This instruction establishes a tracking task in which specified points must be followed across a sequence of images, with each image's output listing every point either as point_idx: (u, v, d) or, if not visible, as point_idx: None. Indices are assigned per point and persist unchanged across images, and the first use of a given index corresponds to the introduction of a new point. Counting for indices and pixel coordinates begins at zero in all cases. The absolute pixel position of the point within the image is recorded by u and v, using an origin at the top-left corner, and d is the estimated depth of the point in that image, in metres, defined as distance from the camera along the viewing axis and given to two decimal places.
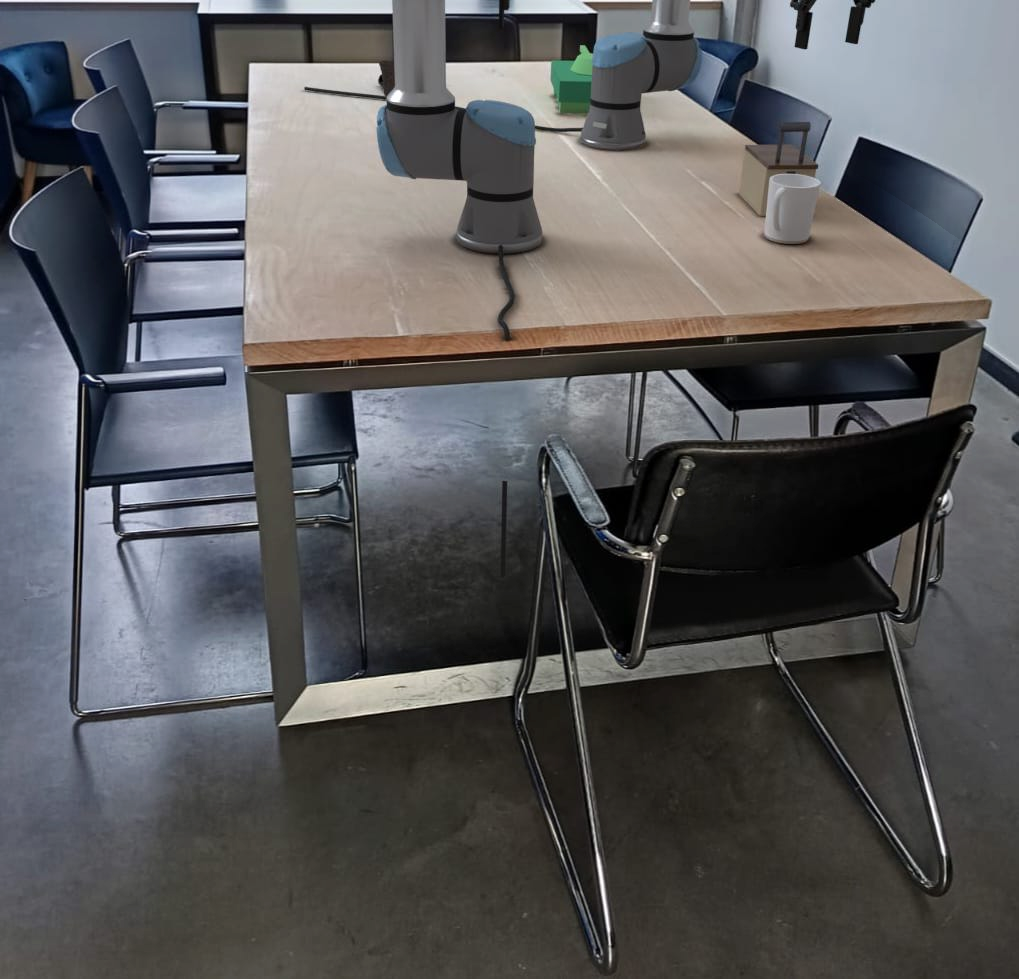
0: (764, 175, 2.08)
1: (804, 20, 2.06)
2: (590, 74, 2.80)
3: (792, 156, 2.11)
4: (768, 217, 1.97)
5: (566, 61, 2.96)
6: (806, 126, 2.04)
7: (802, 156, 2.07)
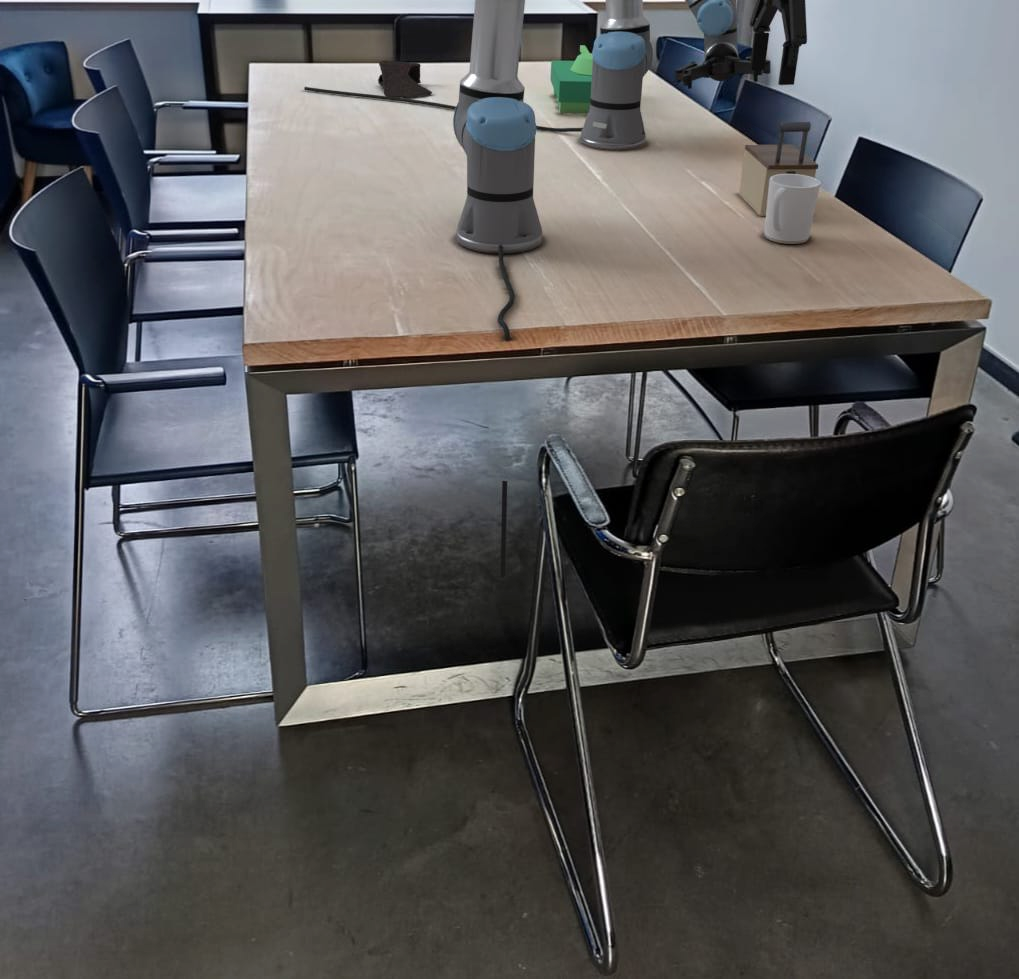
0: (764, 175, 2.08)
1: None
2: (590, 74, 2.80)
3: (792, 156, 2.11)
4: (768, 217, 1.97)
5: (566, 61, 2.96)
6: (806, 126, 2.04)
7: (802, 156, 2.07)
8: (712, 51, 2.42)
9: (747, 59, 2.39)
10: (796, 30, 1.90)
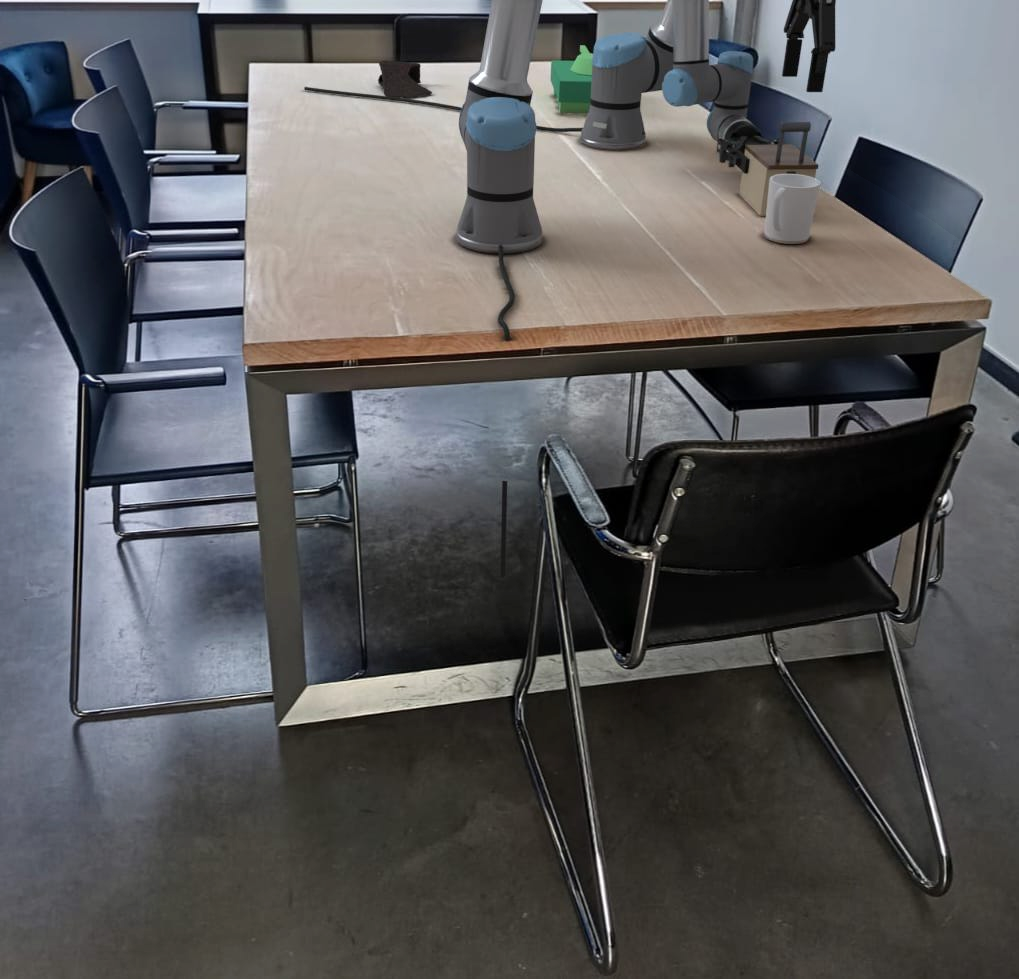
0: (764, 175, 2.08)
1: None
2: (590, 74, 2.80)
3: (792, 156, 2.11)
4: (768, 217, 1.97)
5: (566, 61, 2.96)
6: (806, 126, 2.04)
7: (802, 156, 2.07)
8: (738, 129, 2.31)
9: (775, 142, 2.30)
10: (824, 37, 1.88)
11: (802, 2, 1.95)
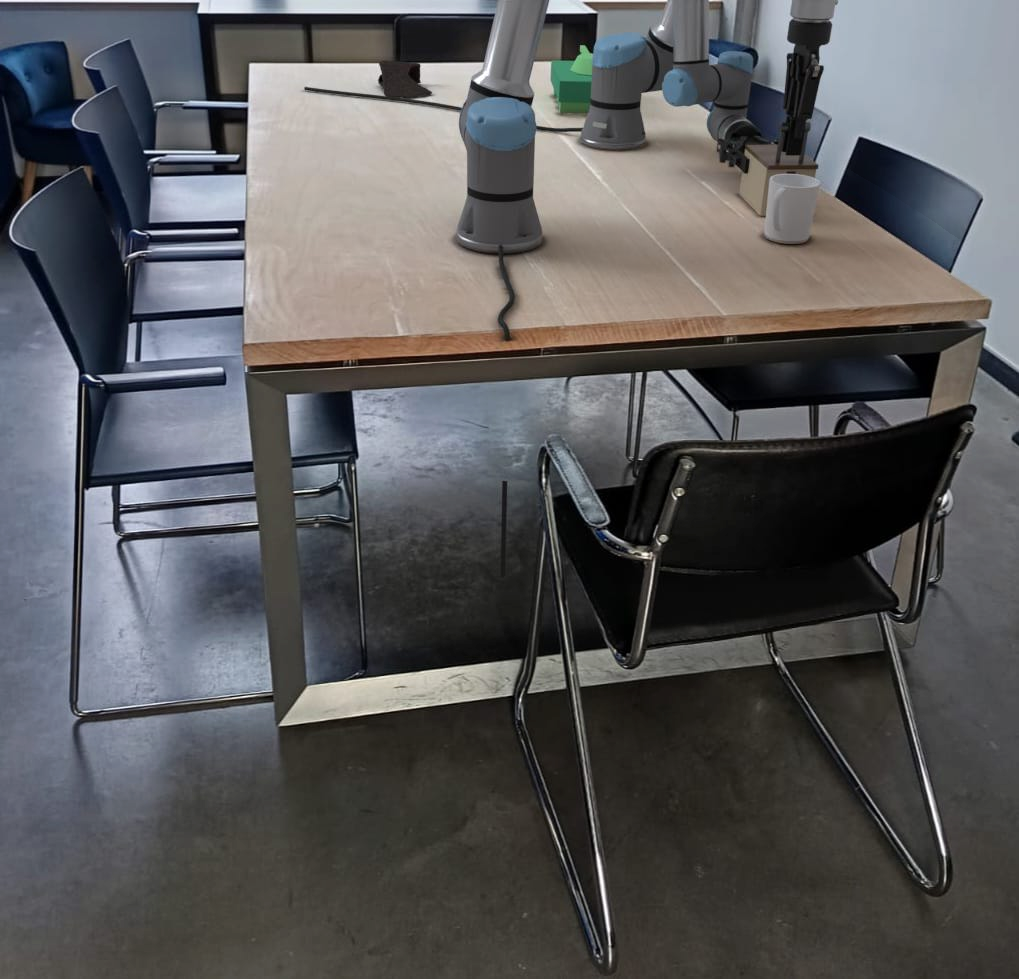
0: (764, 175, 2.08)
1: None
2: (590, 74, 2.80)
3: (792, 156, 2.11)
4: (768, 217, 1.97)
5: (566, 61, 2.96)
6: (806, 126, 2.04)
7: (802, 156, 2.07)
8: (738, 129, 2.31)
9: (775, 142, 2.30)
10: (803, 108, 1.98)
11: (795, 63, 1.99)
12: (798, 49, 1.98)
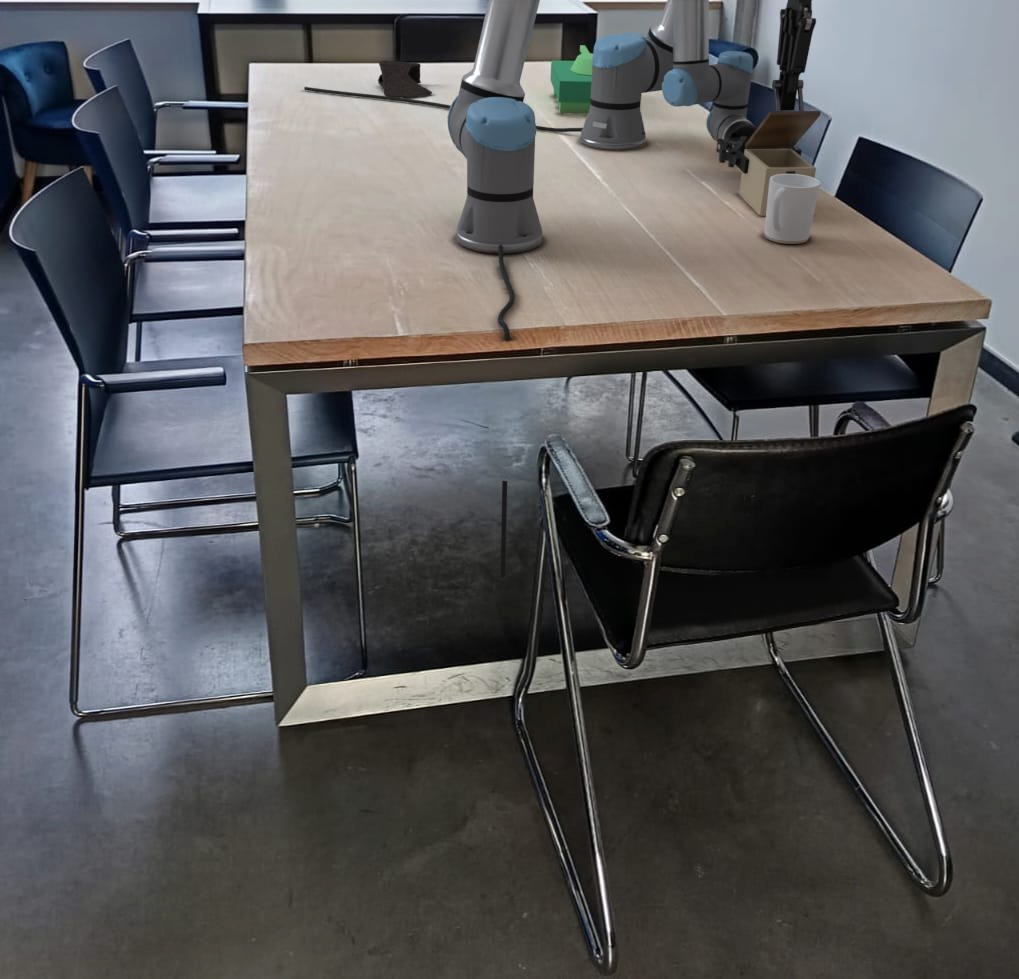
0: (764, 175, 2.08)
1: None
2: (590, 74, 2.80)
3: None
4: (768, 217, 1.97)
5: (566, 61, 2.96)
6: (799, 81, 2.07)
7: (802, 111, 2.06)
8: (738, 129, 2.31)
9: None
10: (796, 61, 2.01)
11: (788, 18, 2.02)
12: (791, 4, 2.01)
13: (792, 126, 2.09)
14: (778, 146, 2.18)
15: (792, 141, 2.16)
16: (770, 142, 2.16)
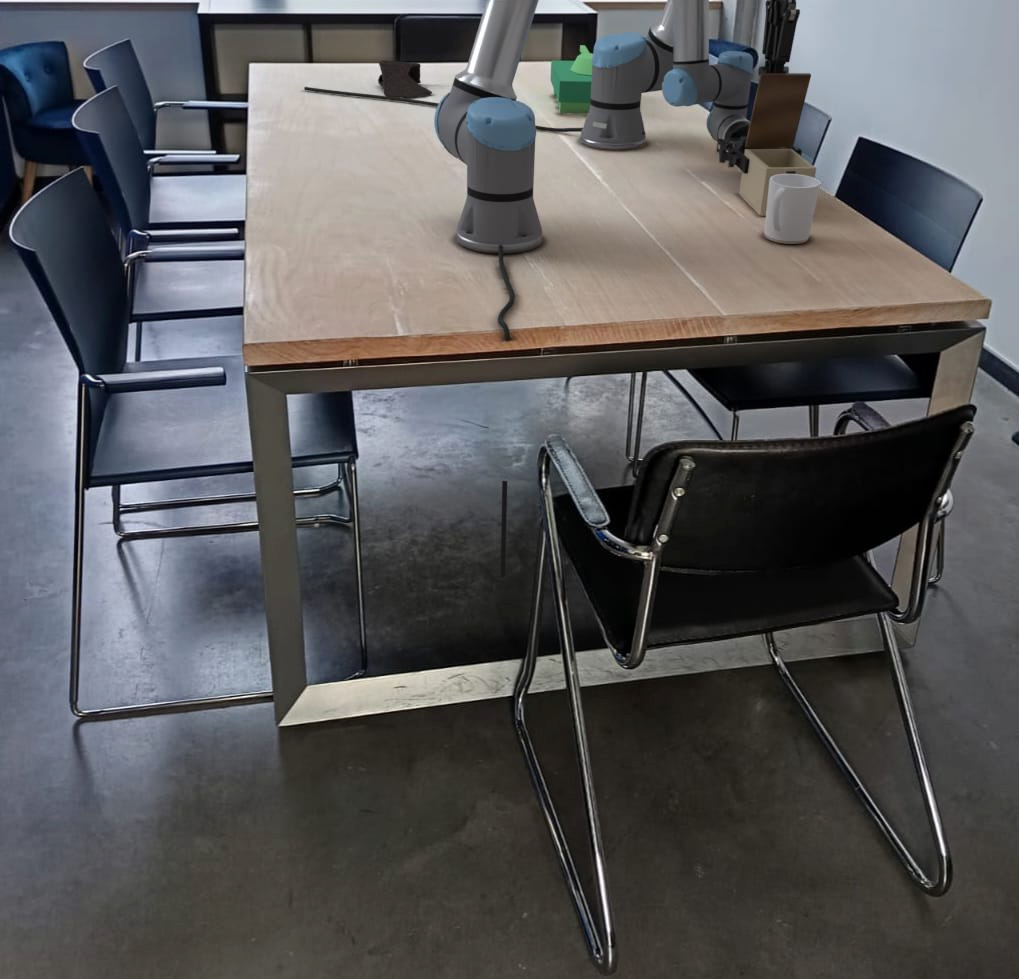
0: (764, 175, 2.08)
1: None
2: (590, 74, 2.80)
3: None
4: (768, 217, 1.97)
5: (566, 61, 2.96)
6: (784, 66, 2.14)
7: None
8: (738, 129, 2.31)
9: None
10: (781, 51, 2.08)
11: (773, 9, 2.09)
12: None
13: (786, 99, 2.11)
14: (778, 143, 2.18)
15: (790, 131, 2.16)
16: (769, 133, 2.16)
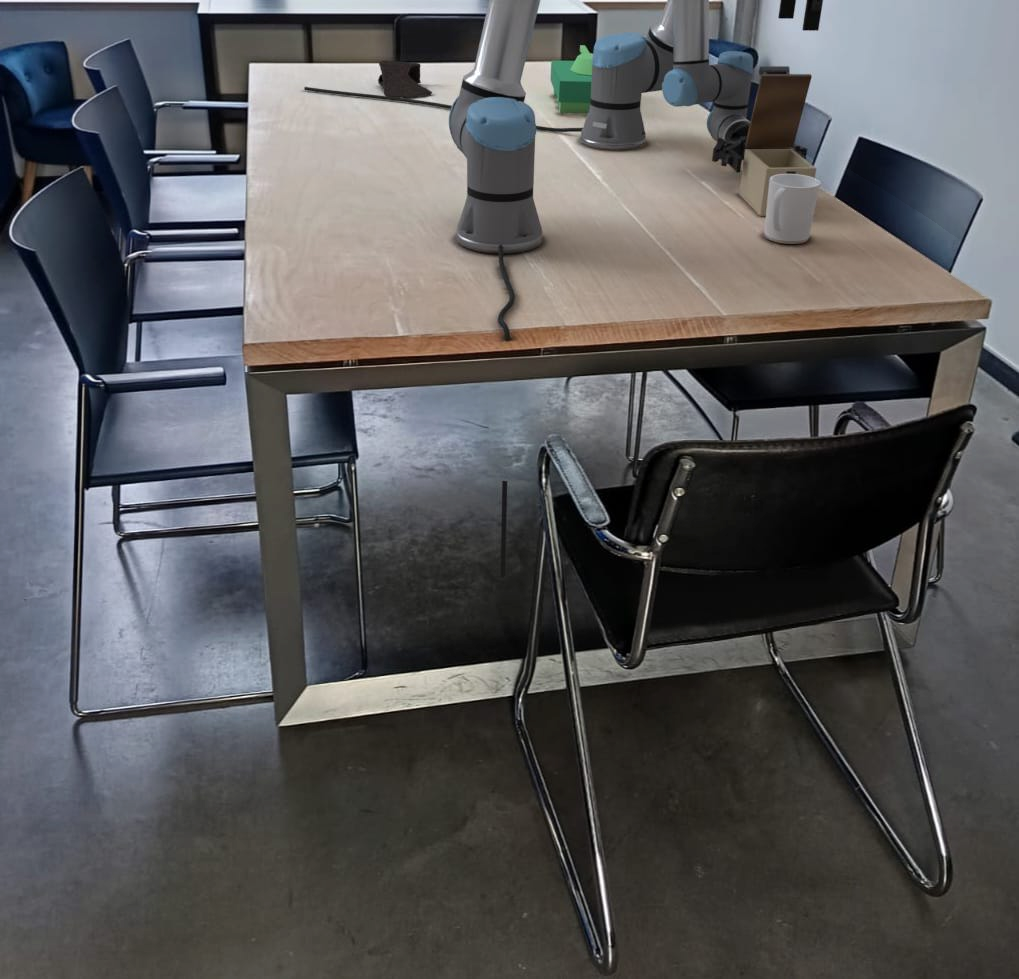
0: (764, 175, 2.08)
1: None
2: (590, 74, 2.80)
3: None
4: (768, 217, 1.97)
5: (566, 61, 2.96)
6: (784, 66, 2.14)
7: None
8: (738, 129, 2.31)
9: None
10: None
11: None
12: None
13: (787, 100, 2.11)
14: (778, 143, 2.18)
15: (791, 132, 2.16)
16: (769, 133, 2.16)
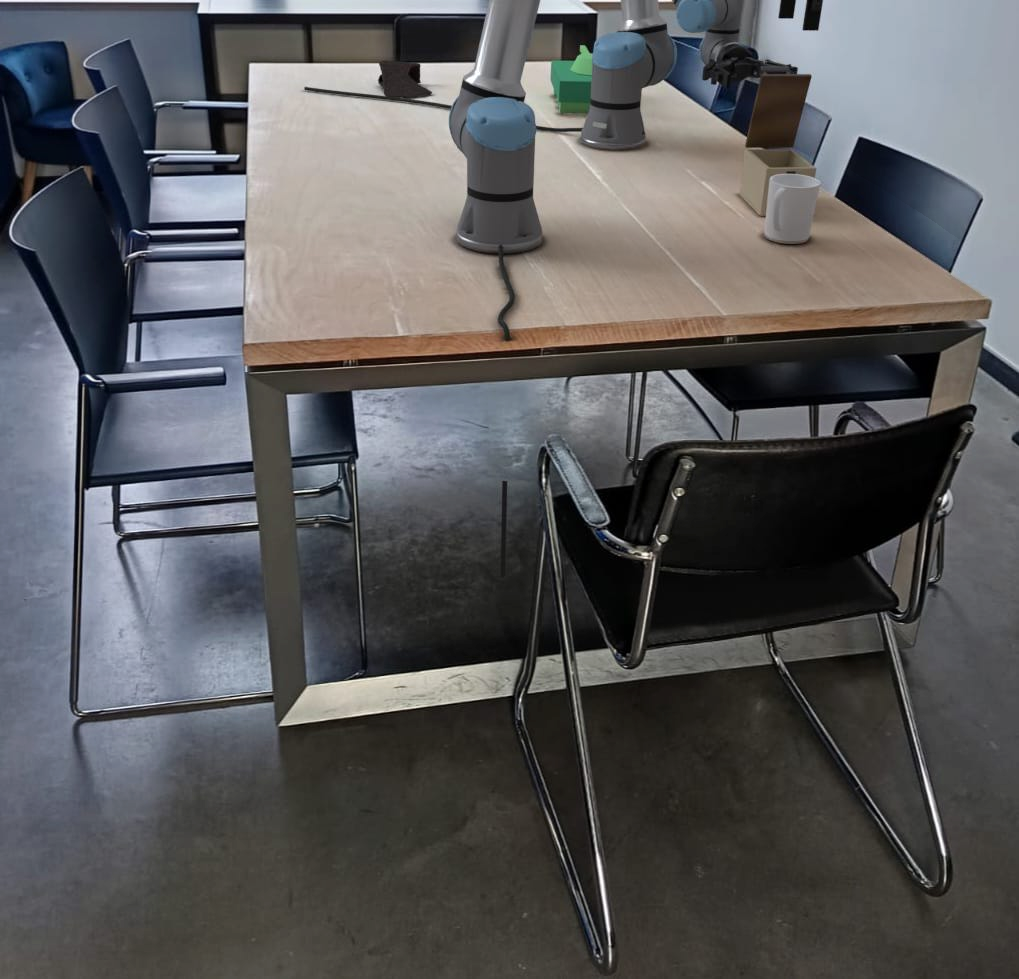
0: (764, 175, 2.08)
1: None
2: (590, 74, 2.80)
3: None
4: (768, 217, 1.97)
5: (566, 61, 2.96)
6: (784, 66, 2.14)
7: None
8: (730, 50, 2.35)
9: (766, 63, 2.34)
10: None
11: None
12: None
13: (787, 100, 2.11)
14: (778, 143, 2.18)
15: (791, 132, 2.16)
16: (769, 133, 2.16)
